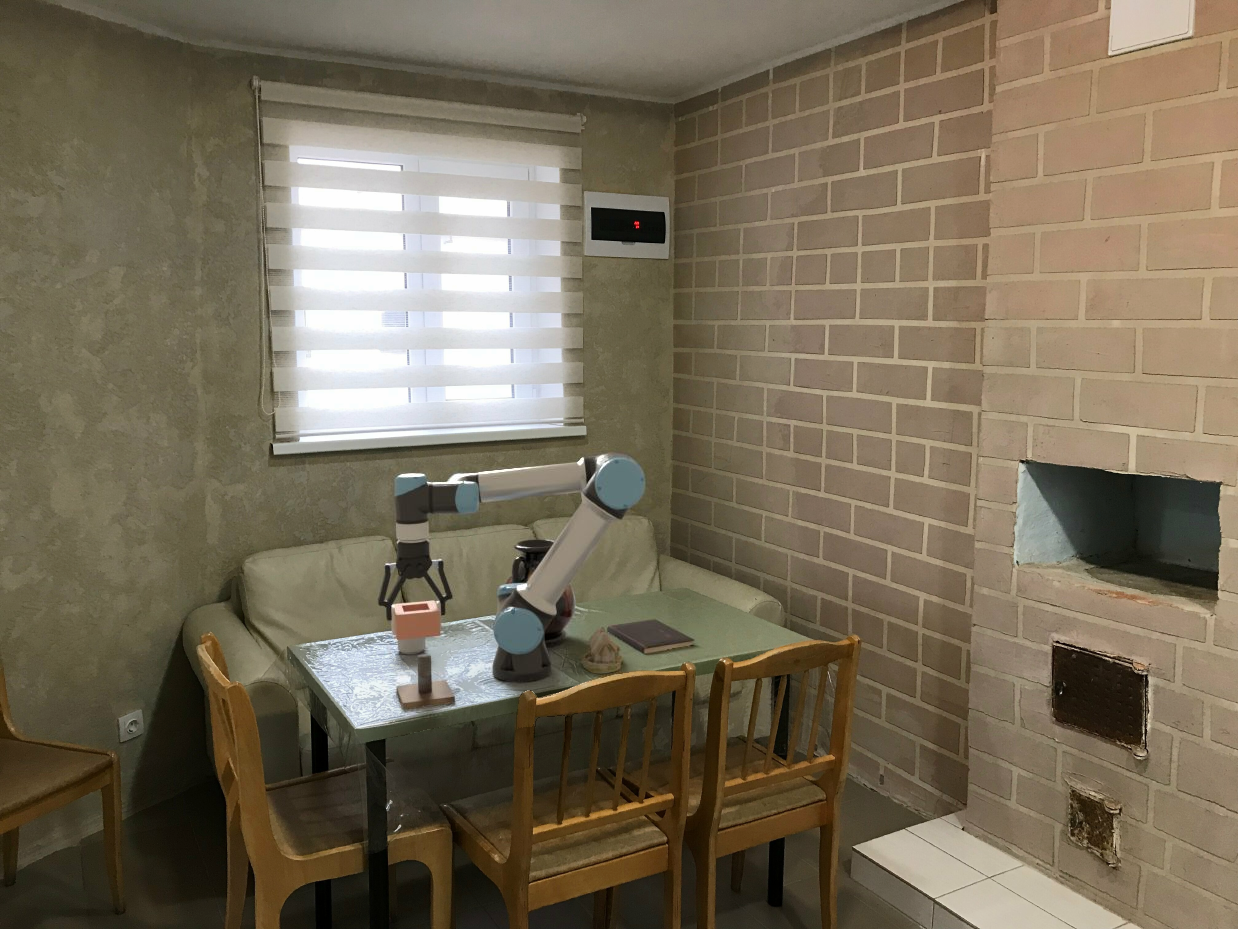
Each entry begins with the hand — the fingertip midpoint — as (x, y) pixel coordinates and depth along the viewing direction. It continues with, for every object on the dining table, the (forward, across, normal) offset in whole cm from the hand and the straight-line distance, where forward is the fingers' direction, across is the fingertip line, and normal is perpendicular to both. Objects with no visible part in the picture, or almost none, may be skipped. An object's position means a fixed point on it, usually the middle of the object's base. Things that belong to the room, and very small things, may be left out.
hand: (416, 631), depth 232 cm
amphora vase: (+16, -37, -32) cm, 52 cm away
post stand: (+16, -1, +3) cm, 16 cm away
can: (+16, -2, -34) cm, 38 cm away
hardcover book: (+17, -67, -24) cm, 73 cm away
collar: (0, 0, 0) cm, 0 cm away
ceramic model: (+16, -48, -6) cm, 51 cm away
